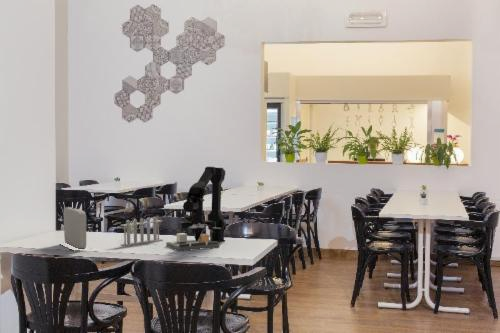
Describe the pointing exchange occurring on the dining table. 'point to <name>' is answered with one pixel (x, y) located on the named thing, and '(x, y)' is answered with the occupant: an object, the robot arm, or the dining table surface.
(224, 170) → the robot arm
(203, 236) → the block
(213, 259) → the dining table surface
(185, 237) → the block
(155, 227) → the test tube rack
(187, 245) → the cord bundle
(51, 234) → the dining table surface
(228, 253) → the dining table surface
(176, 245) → the breaker panel
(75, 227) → the wireless router
